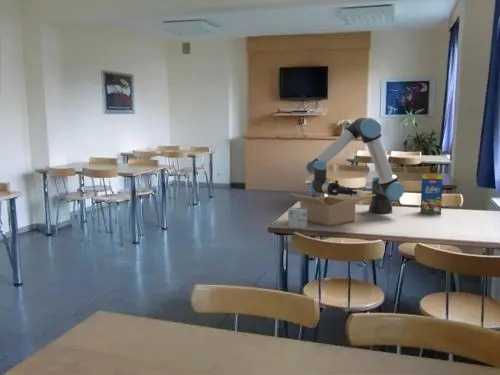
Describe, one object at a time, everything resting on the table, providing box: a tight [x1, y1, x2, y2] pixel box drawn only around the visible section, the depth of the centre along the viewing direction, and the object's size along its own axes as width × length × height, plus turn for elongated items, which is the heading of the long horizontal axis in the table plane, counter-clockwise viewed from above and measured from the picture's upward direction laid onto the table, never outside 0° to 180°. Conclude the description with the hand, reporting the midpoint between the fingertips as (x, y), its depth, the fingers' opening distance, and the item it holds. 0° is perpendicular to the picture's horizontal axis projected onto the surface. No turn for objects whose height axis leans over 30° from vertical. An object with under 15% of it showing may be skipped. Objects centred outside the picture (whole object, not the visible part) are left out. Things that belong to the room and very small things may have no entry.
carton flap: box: [330, 194, 375, 207], centre depth 278 cm, size 16×21×1 cm
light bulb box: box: [287, 207, 308, 229], centre depth 279 cm, size 11×7×11 cm, turn 84°
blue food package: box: [420, 173, 443, 215], centre depth 316 cm, size 6×12×25 cm, turn 75°
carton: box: [290, 190, 365, 228], centre depth 295 cm, size 25×40×17 cm, turn 127°
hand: (362, 193), depth 271 cm, fingers closed
